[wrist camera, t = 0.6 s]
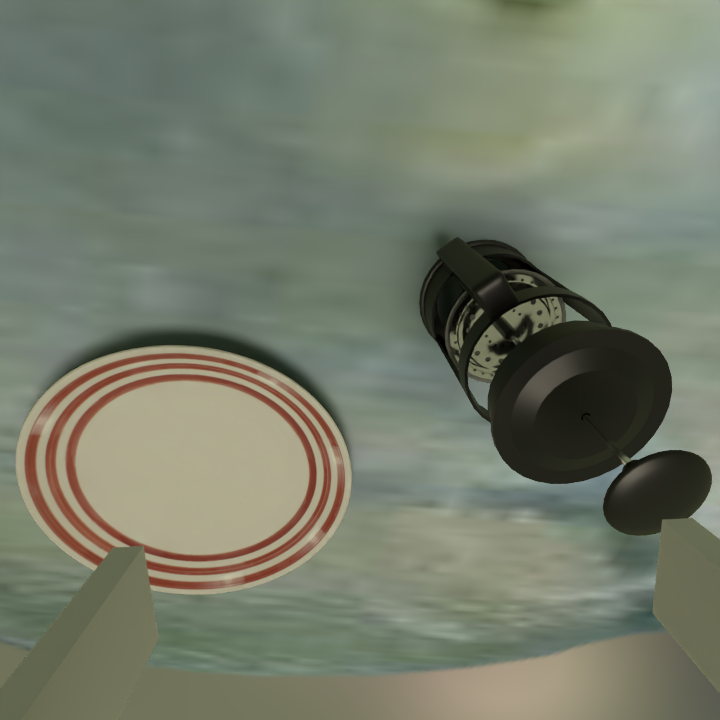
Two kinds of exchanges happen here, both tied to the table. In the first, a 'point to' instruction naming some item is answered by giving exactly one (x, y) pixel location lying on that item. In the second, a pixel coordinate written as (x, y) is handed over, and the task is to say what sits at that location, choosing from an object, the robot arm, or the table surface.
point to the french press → (562, 385)
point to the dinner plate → (185, 467)
